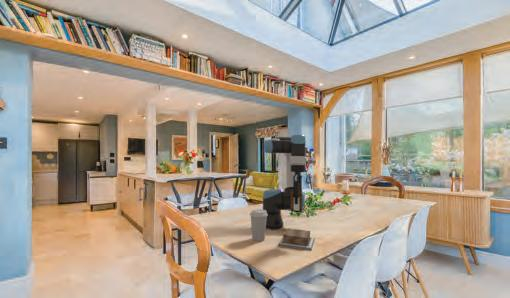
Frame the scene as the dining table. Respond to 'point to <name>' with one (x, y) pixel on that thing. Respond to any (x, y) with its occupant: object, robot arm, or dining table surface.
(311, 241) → the plan board
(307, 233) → the pedestal
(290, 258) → the dining table surface
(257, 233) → the coffee cup
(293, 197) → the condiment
